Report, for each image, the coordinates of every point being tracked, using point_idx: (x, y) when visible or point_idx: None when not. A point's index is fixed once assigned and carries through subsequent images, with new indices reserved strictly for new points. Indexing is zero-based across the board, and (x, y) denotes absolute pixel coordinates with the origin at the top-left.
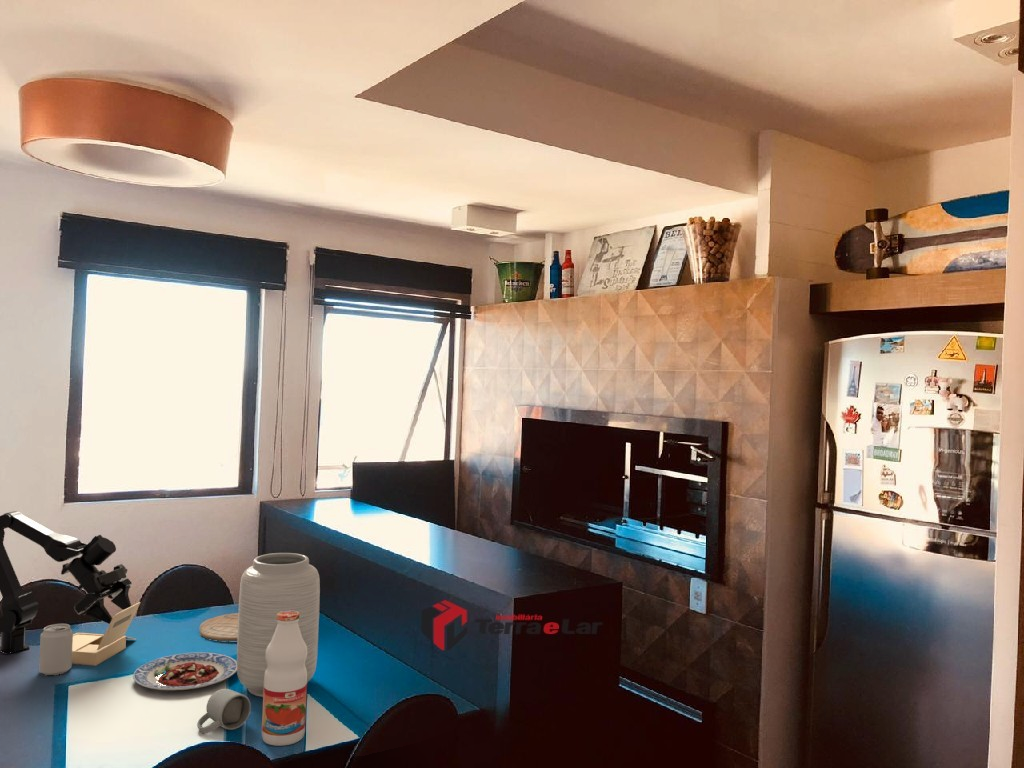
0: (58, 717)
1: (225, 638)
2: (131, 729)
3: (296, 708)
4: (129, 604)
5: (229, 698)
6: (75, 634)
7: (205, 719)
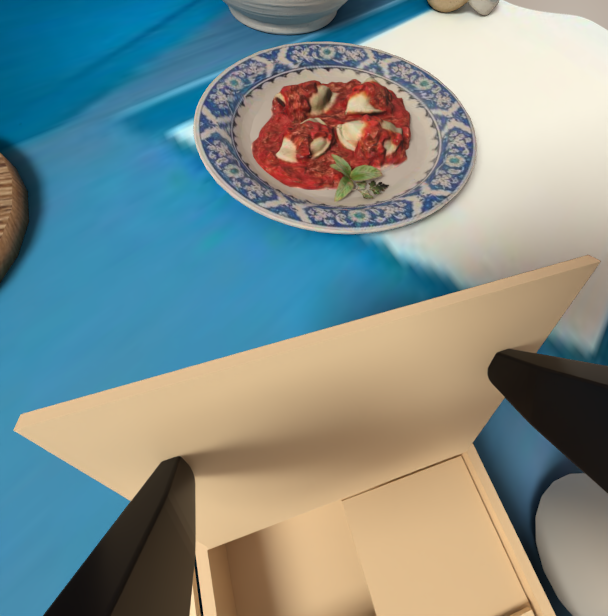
0: None
1: (16, 199)
2: (569, 77)
3: None
4: (128, 545)
5: None
6: None
7: (475, 3)
